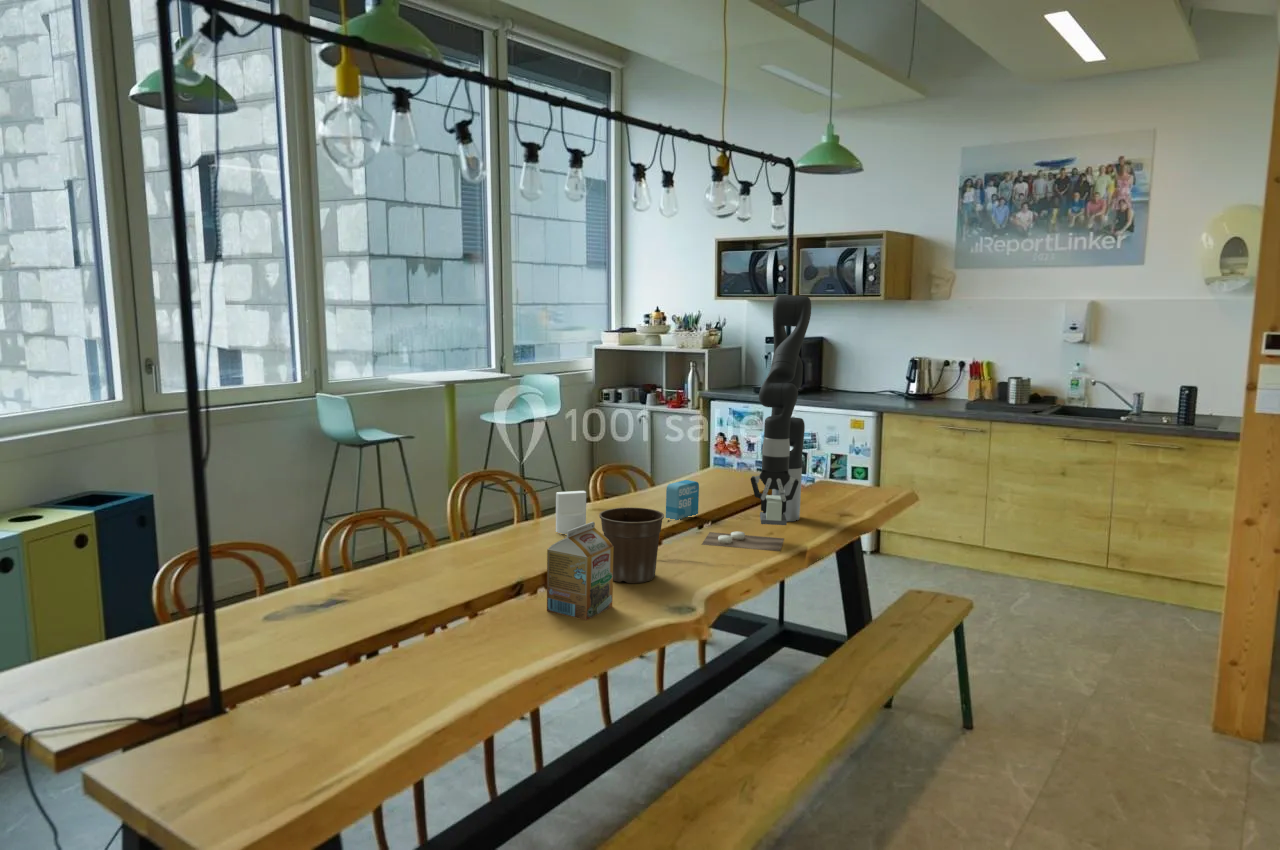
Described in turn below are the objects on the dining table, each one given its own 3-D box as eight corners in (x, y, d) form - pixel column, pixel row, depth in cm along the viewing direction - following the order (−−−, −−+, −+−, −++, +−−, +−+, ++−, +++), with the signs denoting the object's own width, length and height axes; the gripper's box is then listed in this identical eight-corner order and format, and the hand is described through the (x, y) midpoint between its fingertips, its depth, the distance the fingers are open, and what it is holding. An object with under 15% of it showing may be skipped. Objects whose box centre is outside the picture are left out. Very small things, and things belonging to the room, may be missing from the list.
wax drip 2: (729, 536, 252) (729, 531, 252) (743, 536, 252) (743, 531, 252) (732, 540, 248) (731, 535, 248) (745, 539, 248) (745, 534, 248)
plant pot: (585, 573, 219) (586, 511, 217) (636, 563, 229) (637, 503, 227) (623, 591, 206) (624, 525, 204) (675, 579, 216) (677, 516, 214)
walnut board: (709, 537, 257) (709, 532, 257) (783, 543, 252) (784, 538, 252) (701, 549, 243) (701, 544, 243) (780, 556, 238) (780, 551, 238)
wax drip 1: (719, 539, 249) (719, 534, 248) (732, 540, 248) (733, 535, 247) (716, 543, 245) (717, 538, 244) (731, 544, 244) (731, 539, 244)
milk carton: (573, 597, 201) (575, 518, 198) (612, 606, 196) (613, 524, 193) (546, 611, 192) (547, 527, 189) (586, 620, 187) (587, 534, 184)
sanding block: (760, 515, 250) (760, 494, 249) (784, 517, 249) (785, 495, 248) (761, 524, 240) (762, 502, 239) (786, 525, 239) (787, 503, 238)
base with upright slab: (560, 536, 254) (561, 496, 252) (552, 529, 262) (552, 490, 261) (589, 534, 257) (590, 494, 256) (580, 526, 266) (580, 488, 264)
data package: (676, 523, 272) (677, 486, 270) (665, 521, 275) (666, 484, 273) (698, 517, 281) (699, 481, 280) (687, 514, 284) (688, 479, 282)
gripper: (802, 453, 244) (799, 512, 246) (751, 450, 247) (749, 508, 249) (800, 457, 237) (798, 518, 239) (748, 454, 240) (746, 514, 242)
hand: (773, 513), depth 244 cm, fingers closed on sanding block, 4 cm apart
